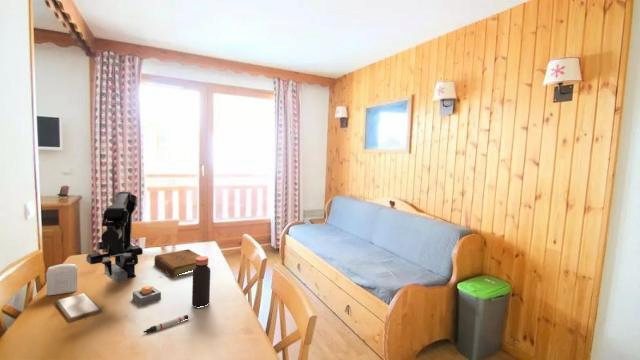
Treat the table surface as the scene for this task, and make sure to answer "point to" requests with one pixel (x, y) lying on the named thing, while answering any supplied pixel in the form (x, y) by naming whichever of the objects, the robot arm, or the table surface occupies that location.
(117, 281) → the grey rectangular block
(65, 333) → the table surface
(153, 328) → the marker
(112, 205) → the robot arm
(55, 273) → the photo printer
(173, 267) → the diary
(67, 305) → the drawing board
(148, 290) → the button
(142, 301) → the button housing
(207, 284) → the bottle
